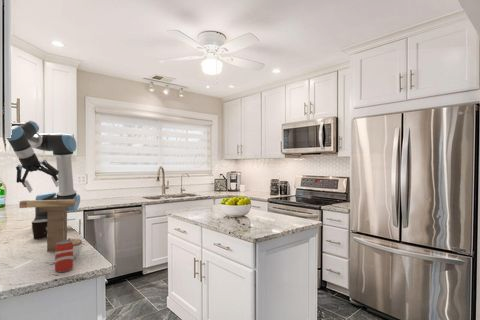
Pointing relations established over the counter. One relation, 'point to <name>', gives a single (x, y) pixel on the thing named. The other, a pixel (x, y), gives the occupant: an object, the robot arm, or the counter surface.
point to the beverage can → (64, 256)
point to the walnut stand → (55, 225)
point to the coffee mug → (39, 228)
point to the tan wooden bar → (47, 203)
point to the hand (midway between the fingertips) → (44, 188)
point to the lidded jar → (76, 246)
